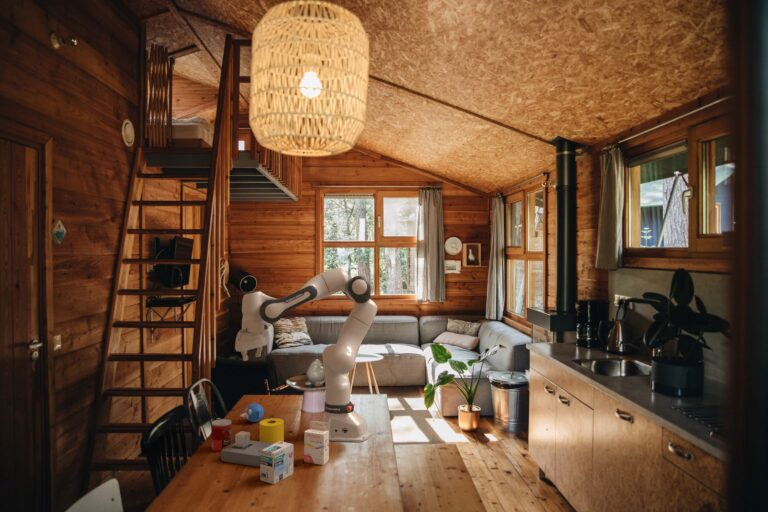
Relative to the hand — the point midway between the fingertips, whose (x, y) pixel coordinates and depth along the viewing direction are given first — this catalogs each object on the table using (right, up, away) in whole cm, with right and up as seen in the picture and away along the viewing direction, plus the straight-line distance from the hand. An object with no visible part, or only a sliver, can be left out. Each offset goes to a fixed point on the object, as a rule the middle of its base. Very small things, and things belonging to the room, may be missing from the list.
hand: (251, 358), depth 215 cm
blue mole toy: (-5, -35, +18) cm, 39 cm away
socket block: (+7, -34, -25) cm, 43 cm away
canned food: (-8, -34, -16) cm, 38 cm away
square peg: (+3, -34, -24) cm, 41 cm away
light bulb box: (+21, -34, -43) cm, 58 cm away
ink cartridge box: (+33, -34, -29) cm, 55 cm away
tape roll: (+11, -34, -11) cm, 38 cm away
